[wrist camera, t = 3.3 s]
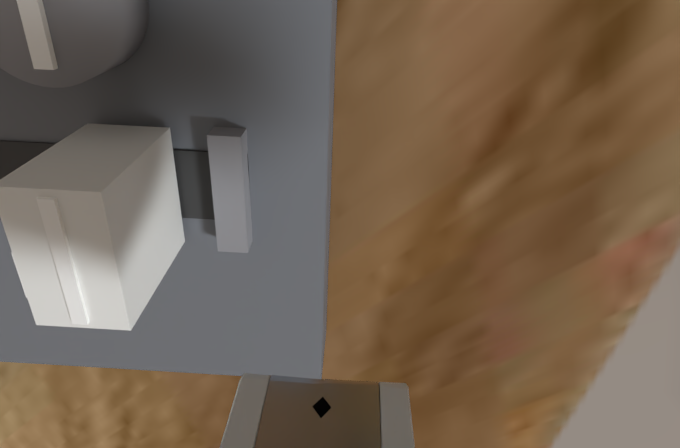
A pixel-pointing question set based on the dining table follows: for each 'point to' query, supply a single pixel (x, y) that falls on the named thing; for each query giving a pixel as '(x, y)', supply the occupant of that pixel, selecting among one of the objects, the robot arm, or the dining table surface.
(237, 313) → the console
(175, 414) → the dining table surface
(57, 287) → the fader cap
